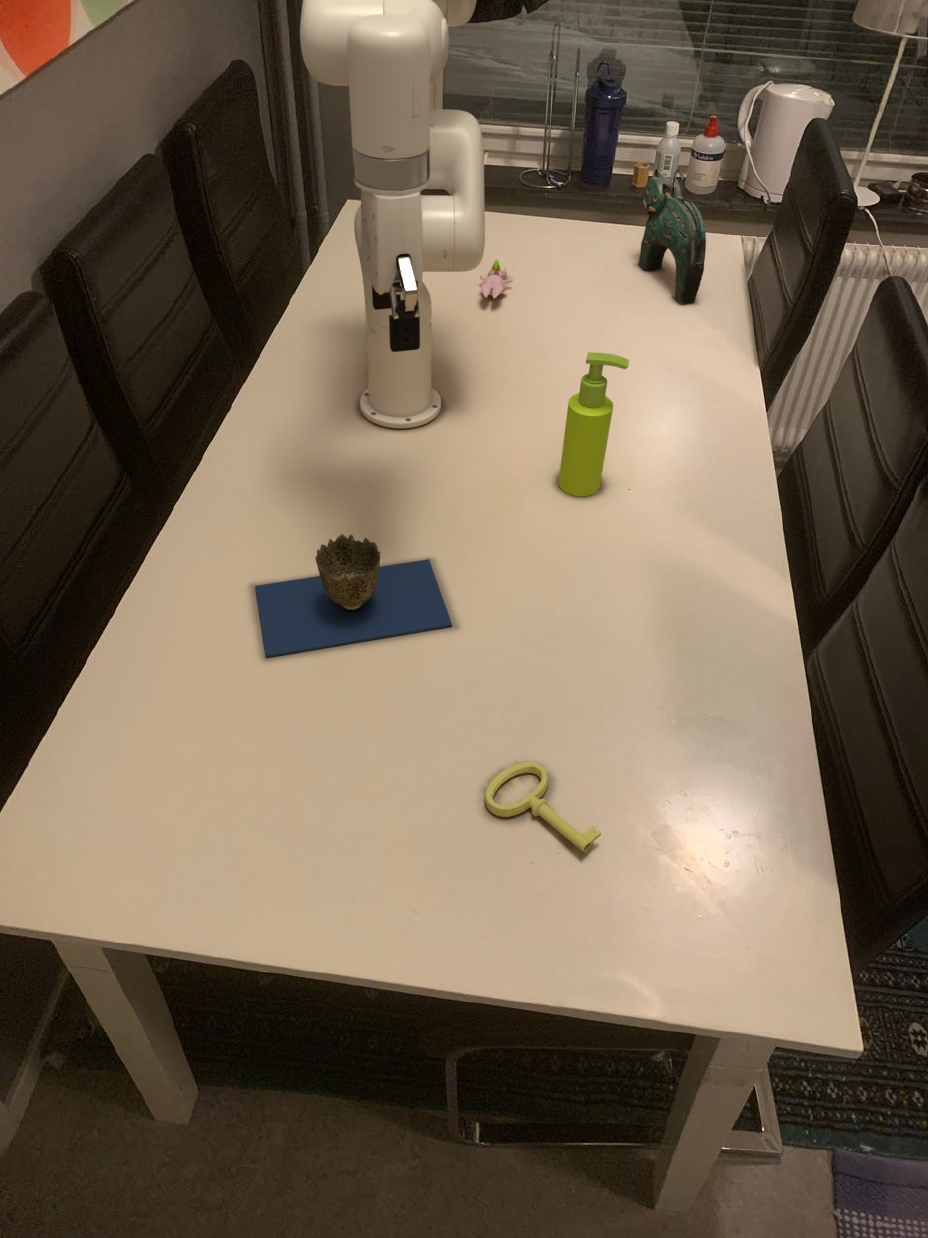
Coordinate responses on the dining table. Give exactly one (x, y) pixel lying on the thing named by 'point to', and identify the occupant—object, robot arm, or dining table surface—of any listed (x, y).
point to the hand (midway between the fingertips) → (395, 327)
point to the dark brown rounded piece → (349, 571)
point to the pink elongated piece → (495, 281)
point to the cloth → (315, 621)
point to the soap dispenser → (588, 429)
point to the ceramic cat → (673, 235)
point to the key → (536, 804)
